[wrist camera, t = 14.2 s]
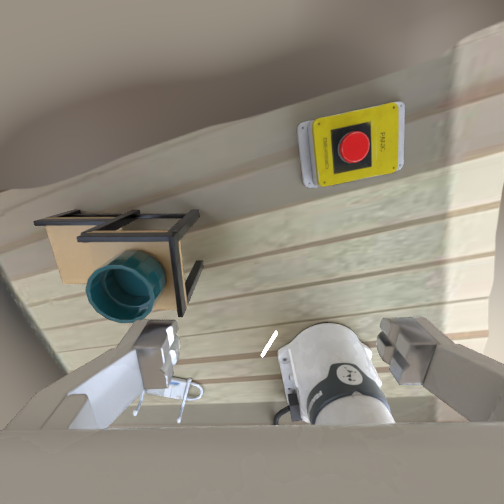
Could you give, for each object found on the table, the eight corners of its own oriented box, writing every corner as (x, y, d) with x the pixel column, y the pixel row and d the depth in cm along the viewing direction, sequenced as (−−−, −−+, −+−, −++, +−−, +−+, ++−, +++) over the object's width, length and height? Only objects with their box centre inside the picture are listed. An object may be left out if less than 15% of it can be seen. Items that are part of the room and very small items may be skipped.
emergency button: (302, 118, 31) (423, 92, 30) (296, 123, 35) (402, 100, 34) (310, 192, 34) (420, 170, 33) (303, 189, 38) (401, 169, 38)
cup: (171, 299, 30) (158, 322, 26) (116, 299, 30) (94, 323, 26) (164, 248, 28) (148, 264, 23) (104, 248, 28) (78, 265, 23)
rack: (203, 266, 43) (183, 317, 29) (87, 267, 42) (11, 319, 29) (199, 209, 39) (173, 236, 25) (72, 209, 39) (-23, 237, 25)
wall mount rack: (127, 392, 53) (114, 419, 47) (134, 343, 48) (119, 367, 43) (199, 405, 55) (194, 432, 49) (212, 359, 50) (207, 383, 44)
